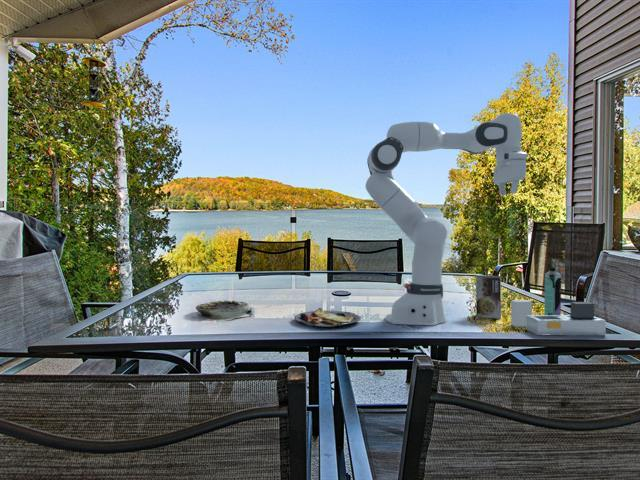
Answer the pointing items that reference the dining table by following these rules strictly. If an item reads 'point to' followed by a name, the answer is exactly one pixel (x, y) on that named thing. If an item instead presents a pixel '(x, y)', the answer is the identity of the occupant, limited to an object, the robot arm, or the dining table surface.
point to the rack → (568, 322)
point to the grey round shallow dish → (224, 310)
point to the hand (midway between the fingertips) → (508, 194)
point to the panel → (520, 312)
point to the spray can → (552, 293)
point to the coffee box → (488, 296)
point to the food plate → (327, 318)
